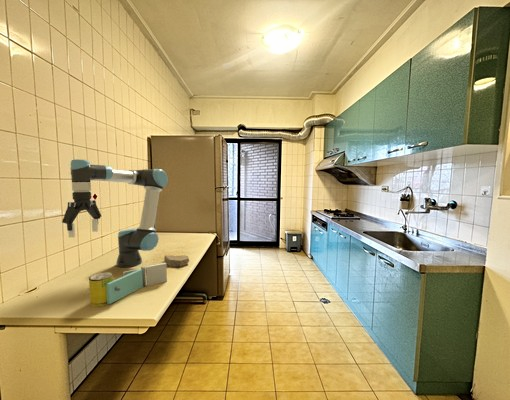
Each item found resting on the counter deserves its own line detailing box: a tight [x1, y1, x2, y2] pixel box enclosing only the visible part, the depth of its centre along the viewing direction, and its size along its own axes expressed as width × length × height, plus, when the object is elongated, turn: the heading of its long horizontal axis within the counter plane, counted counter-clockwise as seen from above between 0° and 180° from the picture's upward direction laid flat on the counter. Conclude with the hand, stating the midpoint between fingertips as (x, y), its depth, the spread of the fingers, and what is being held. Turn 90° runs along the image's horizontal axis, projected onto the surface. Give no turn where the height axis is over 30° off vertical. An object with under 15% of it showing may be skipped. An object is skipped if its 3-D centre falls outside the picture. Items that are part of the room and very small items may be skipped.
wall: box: [122, 262, 168, 288], centre depth 128 cm, size 3×20×10 cm, turn 126°
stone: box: [163, 254, 190, 268], centre depth 162 cm, size 17×15×4 cm
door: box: [106, 268, 144, 305], centre depth 116 cm, size 3×19×9 cm, turn 160°
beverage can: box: [88, 272, 114, 308], centre depth 110 cm, size 9×9×12 cm
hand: (84, 234), depth 120 cm, fingers open, 13 cm apart
